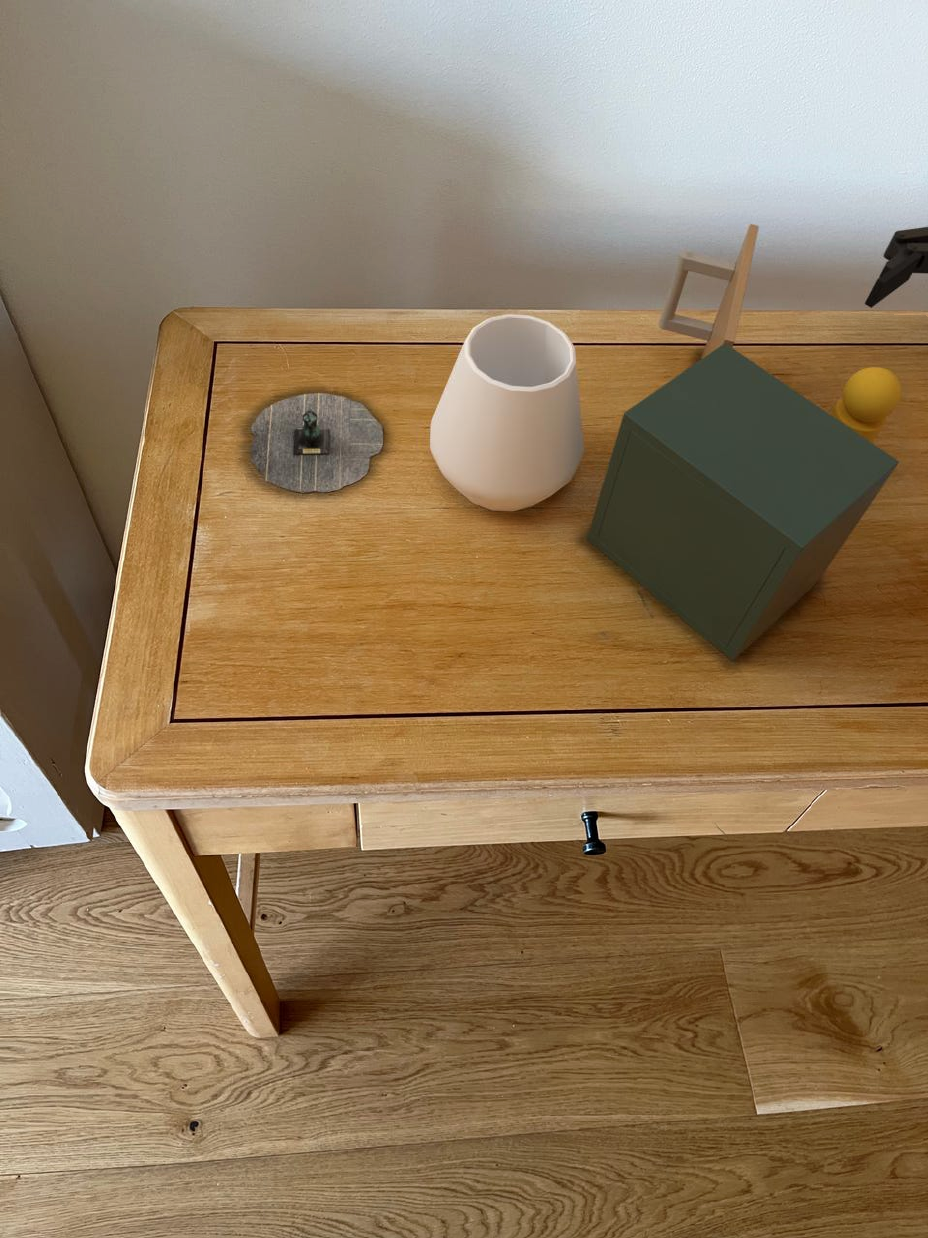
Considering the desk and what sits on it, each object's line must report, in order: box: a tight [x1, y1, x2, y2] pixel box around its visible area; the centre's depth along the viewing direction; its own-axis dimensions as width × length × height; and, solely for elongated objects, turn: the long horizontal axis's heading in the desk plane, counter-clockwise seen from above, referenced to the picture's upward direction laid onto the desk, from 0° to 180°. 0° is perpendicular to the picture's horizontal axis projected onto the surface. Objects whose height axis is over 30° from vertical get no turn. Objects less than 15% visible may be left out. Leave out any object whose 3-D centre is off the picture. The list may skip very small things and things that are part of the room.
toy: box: [829, 366, 902, 444], centre depth 82 cm, size 5×5×11 cm
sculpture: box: [249, 392, 384, 494], centre depth 84 cm, size 12×9×8 cm
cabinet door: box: [658, 223, 760, 360], centre depth 83 cm, size 6×16×15 cm, turn 163°
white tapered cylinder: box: [429, 313, 585, 512], centre depth 77 cm, size 13×13×14 cm
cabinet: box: [586, 343, 900, 662], centre depth 73 cm, size 12×16×15 cm
